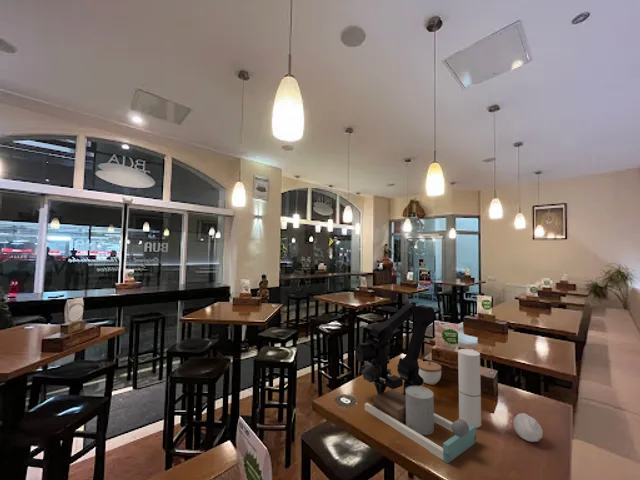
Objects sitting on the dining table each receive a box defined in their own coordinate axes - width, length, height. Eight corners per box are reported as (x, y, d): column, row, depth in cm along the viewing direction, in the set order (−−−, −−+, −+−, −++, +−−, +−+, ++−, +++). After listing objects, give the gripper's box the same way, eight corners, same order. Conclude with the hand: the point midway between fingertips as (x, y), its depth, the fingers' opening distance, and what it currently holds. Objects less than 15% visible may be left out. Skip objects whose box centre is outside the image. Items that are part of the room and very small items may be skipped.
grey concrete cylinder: (401, 420, 106) (401, 386, 106) (426, 419, 106) (426, 385, 107) (412, 436, 96) (411, 399, 97) (439, 435, 97) (438, 398, 98)
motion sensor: (537, 450, 90) (536, 425, 90) (509, 437, 96) (509, 414, 96) (545, 440, 94) (545, 416, 95) (519, 429, 101) (518, 406, 101)
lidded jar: (413, 377, 142) (413, 358, 143) (434, 376, 143) (434, 357, 144) (424, 387, 132) (423, 366, 132) (446, 386, 133) (445, 365, 133)
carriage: (392, 401, 118) (392, 388, 119) (417, 414, 109) (417, 401, 109) (373, 409, 112) (373, 396, 112) (398, 424, 102) (397, 410, 102)
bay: (393, 398, 122) (392, 376, 122) (480, 444, 92) (479, 415, 93) (364, 410, 112) (364, 386, 112) (452, 466, 83) (451, 434, 83)
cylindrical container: (479, 418, 107) (477, 350, 108) (483, 429, 100) (481, 356, 101) (458, 414, 109) (456, 348, 110) (460, 425, 103) (459, 354, 104)
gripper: (350, 355, 120) (350, 393, 120) (383, 370, 105) (384, 413, 104) (369, 350, 127) (369, 386, 126) (403, 363, 111) (403, 404, 111)
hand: (380, 396), depth 117 cm, fingers closed
